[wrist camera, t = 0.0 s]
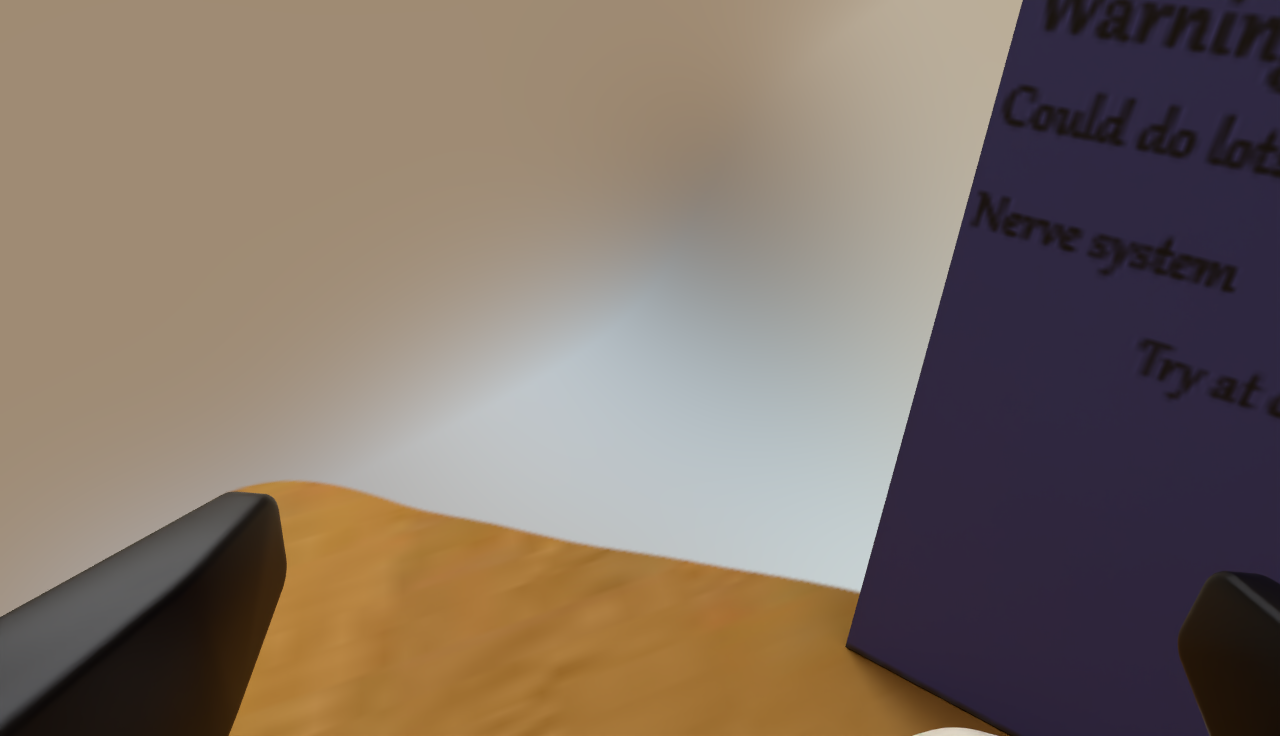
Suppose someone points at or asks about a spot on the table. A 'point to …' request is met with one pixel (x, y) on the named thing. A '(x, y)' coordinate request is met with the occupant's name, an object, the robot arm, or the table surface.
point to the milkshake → (954, 732)
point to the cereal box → (1095, 376)
